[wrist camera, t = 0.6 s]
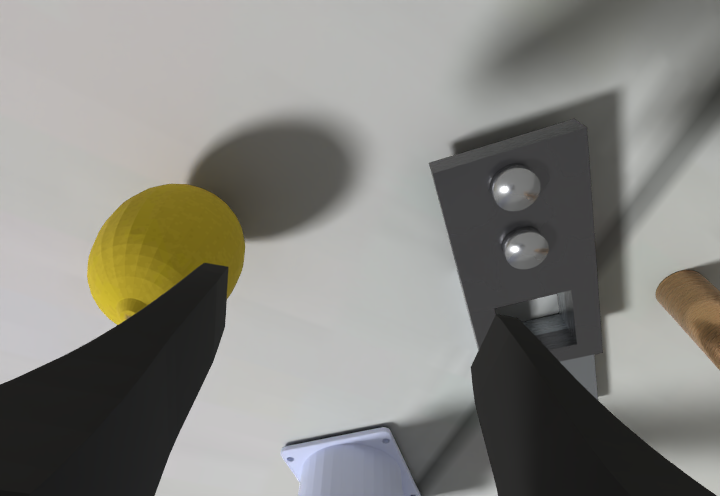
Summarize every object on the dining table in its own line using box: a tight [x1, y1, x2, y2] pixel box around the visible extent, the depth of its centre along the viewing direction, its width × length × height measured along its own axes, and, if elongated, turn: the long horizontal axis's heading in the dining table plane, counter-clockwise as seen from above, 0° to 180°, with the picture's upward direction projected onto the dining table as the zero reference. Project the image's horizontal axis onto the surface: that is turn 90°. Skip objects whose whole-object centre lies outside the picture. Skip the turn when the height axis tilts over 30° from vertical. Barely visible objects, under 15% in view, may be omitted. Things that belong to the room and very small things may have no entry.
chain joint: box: [429, 119, 603, 400], centre depth 23 cm, size 19×6×3 cm, turn 19°
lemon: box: [87, 184, 245, 325], centre depth 18 cm, size 6×6×8 cm
